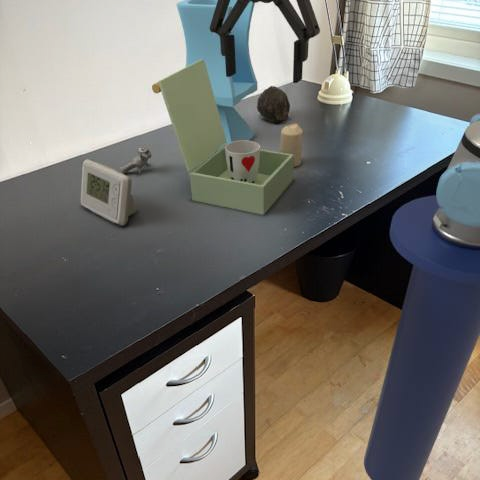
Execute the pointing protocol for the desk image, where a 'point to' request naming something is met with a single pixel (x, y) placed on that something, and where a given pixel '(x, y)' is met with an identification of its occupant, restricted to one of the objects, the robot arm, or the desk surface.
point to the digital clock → (106, 192)
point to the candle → (292, 142)
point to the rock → (273, 104)
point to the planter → (221, 61)
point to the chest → (238, 192)
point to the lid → (192, 112)
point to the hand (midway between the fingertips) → (263, 78)
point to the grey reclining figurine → (138, 161)
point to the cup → (243, 160)
